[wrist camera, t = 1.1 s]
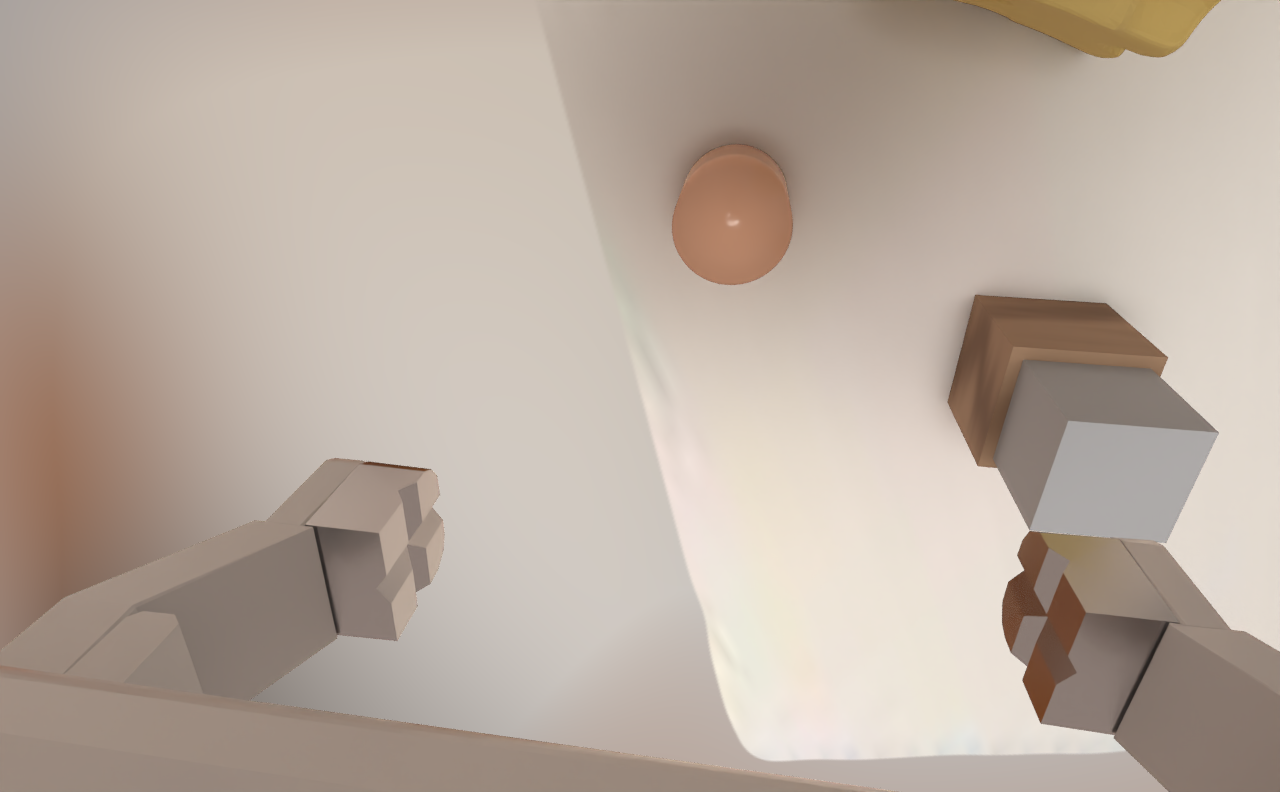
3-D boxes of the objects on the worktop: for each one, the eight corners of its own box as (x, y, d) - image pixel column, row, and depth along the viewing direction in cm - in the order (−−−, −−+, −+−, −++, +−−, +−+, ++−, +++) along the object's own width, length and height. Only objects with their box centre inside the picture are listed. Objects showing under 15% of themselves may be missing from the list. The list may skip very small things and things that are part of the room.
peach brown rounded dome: (684, 141, 34) (674, 163, 29) (793, 146, 33) (800, 169, 29) (679, 246, 36) (669, 280, 32) (781, 252, 36) (785, 288, 31)
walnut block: (975, 294, 35) (1013, 346, 30) (1105, 303, 35) (1168, 357, 29) (947, 401, 38) (977, 465, 33) (1067, 411, 38) (1117, 478, 32)
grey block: (1023, 359, 30) (1068, 420, 26) (1151, 368, 30) (1219, 432, 25) (992, 458, 33) (1029, 530, 28) (1110, 469, 32) (1166, 543, 28)
